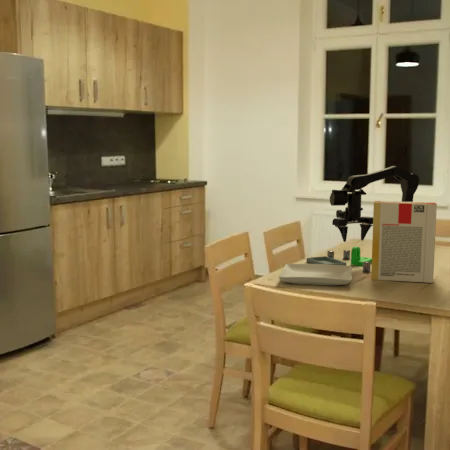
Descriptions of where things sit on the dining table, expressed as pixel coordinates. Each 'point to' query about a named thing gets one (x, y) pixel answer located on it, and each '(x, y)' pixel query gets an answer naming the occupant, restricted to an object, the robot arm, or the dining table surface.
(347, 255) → the spacer posts
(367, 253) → the dining table surface
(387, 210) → the pasta box
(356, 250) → the mechanical part
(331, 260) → the parts tray
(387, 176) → the robot arm
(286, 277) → the square plate
